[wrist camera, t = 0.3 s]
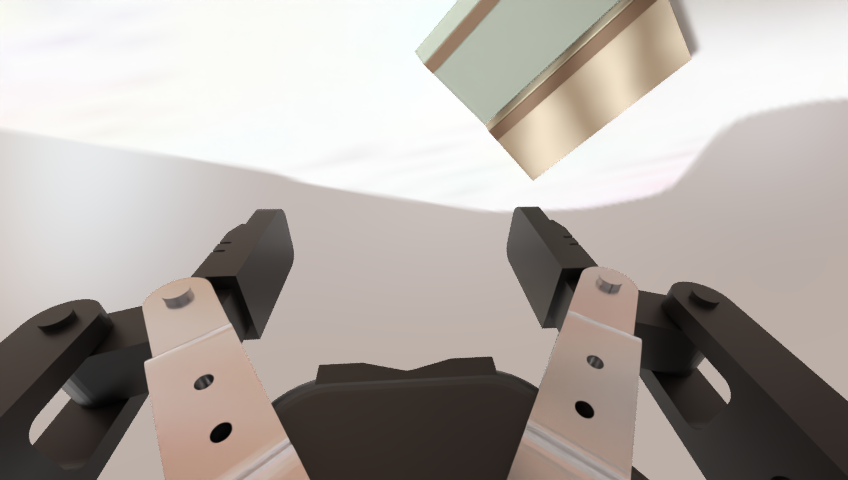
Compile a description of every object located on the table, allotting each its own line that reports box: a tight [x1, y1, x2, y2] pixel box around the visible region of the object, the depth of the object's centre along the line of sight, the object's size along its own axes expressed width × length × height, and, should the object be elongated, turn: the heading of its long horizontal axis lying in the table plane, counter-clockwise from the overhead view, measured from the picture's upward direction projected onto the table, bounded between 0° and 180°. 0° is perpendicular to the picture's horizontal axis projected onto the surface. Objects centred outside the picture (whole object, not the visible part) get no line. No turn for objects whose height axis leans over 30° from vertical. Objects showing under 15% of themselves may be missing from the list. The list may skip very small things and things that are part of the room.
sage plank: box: [415, 0, 619, 124], centre depth 23 cm, size 16×10×2 cm, turn 135°
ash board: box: [485, 0, 691, 180], centre depth 29 cm, size 16×8×2 cm, turn 135°
